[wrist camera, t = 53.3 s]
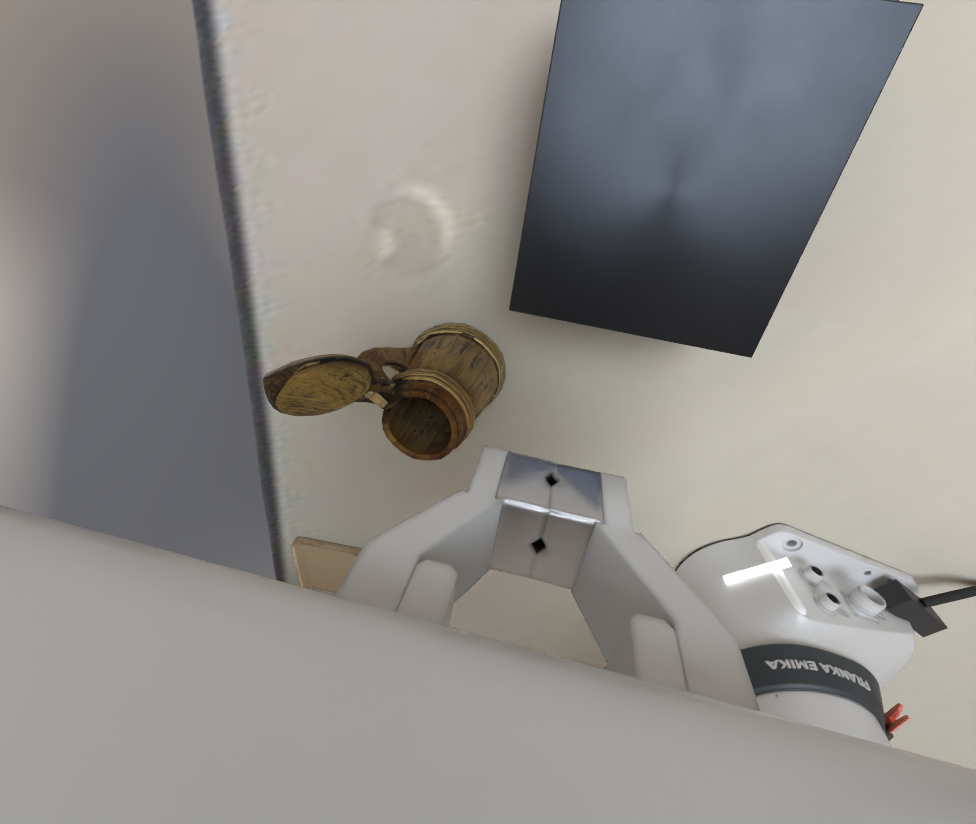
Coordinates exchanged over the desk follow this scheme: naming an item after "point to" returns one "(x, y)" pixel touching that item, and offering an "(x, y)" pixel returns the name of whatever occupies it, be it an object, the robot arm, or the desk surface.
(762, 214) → the black box
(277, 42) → the desk surface
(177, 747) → the robot arm
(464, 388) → the wooden mug
